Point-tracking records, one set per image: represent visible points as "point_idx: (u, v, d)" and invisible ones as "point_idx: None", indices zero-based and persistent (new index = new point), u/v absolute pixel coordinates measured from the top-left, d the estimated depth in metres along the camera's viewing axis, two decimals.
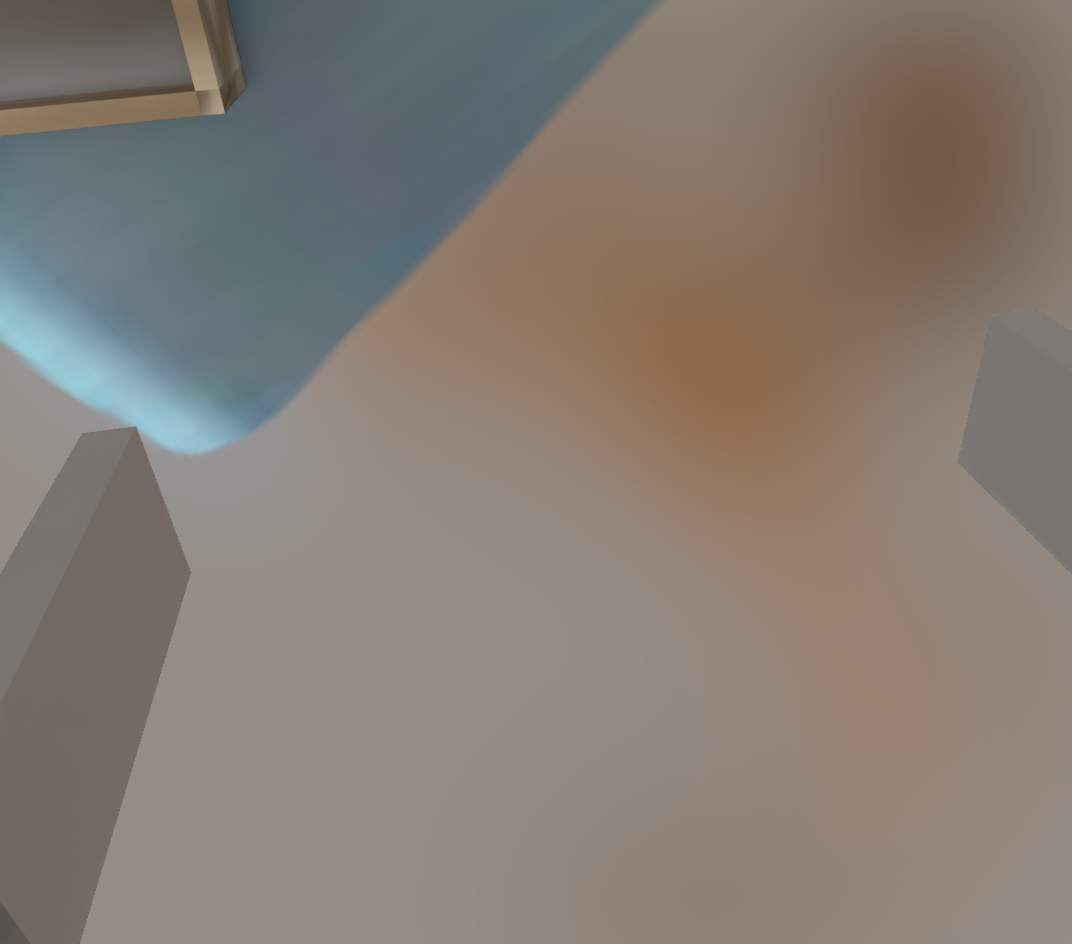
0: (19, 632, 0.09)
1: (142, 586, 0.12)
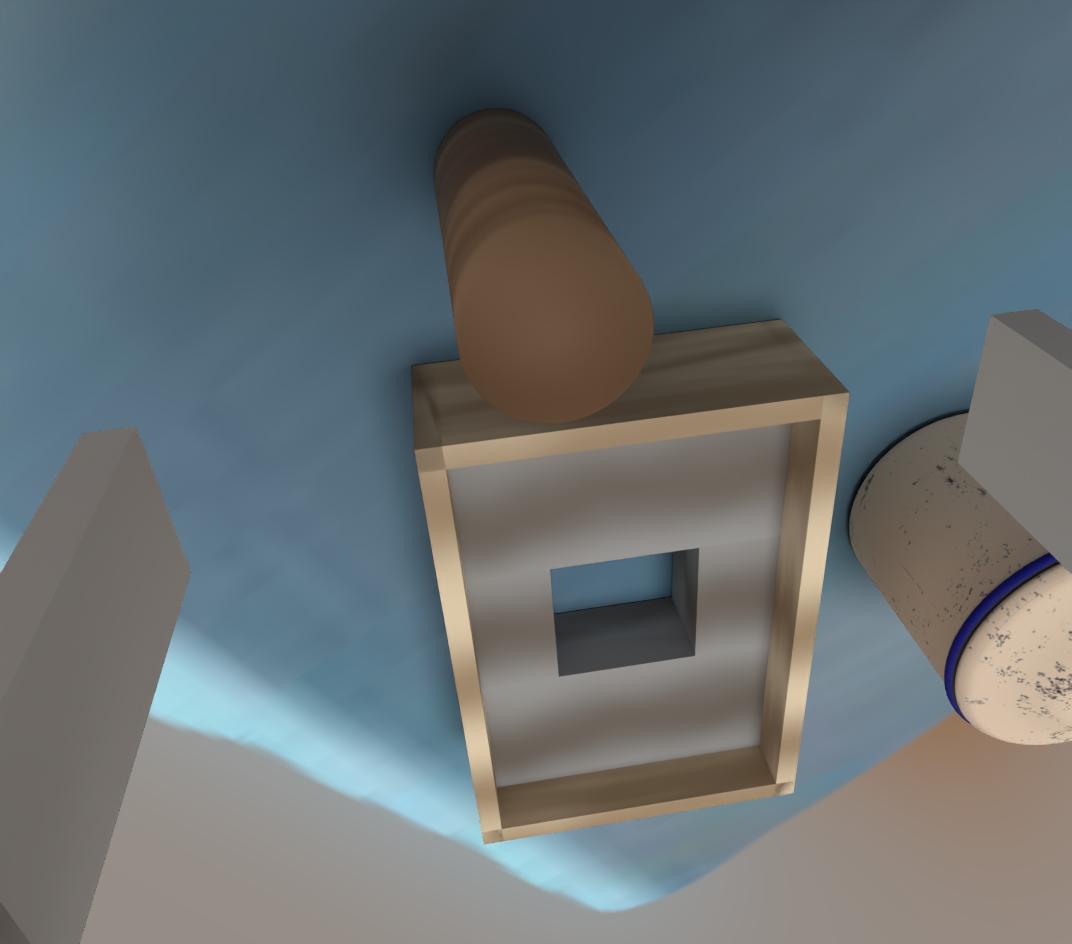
0: (19, 632, 0.09)
1: (142, 586, 0.12)
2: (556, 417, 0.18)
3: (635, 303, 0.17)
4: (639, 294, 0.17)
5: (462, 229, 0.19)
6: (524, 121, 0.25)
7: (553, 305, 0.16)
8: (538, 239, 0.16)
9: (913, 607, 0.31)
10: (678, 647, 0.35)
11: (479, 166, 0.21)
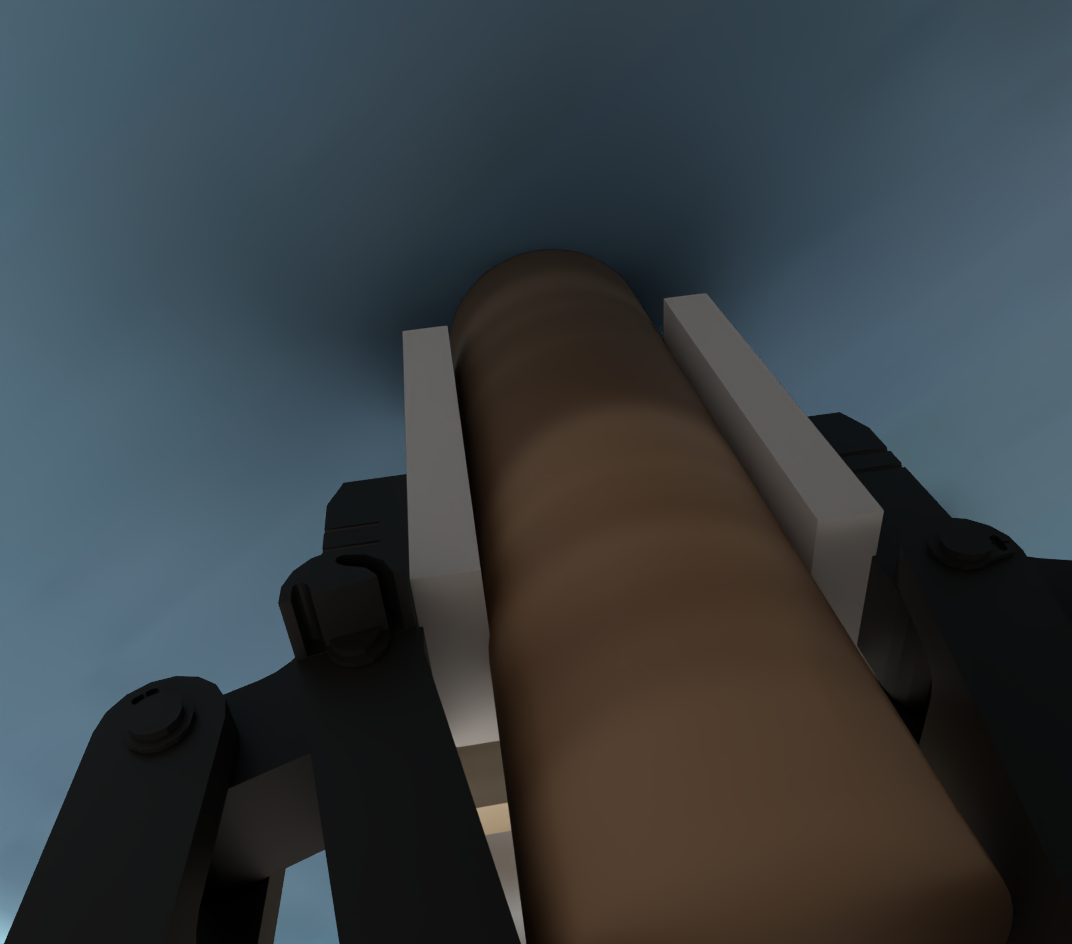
0: (451, 459, 0.11)
1: None
2: None
3: (976, 915, 0.07)
4: (990, 900, 0.07)
5: (526, 613, 0.09)
6: (601, 278, 0.15)
7: (781, 940, 0.07)
8: (759, 823, 0.06)
9: None
10: None
11: (544, 417, 0.11)
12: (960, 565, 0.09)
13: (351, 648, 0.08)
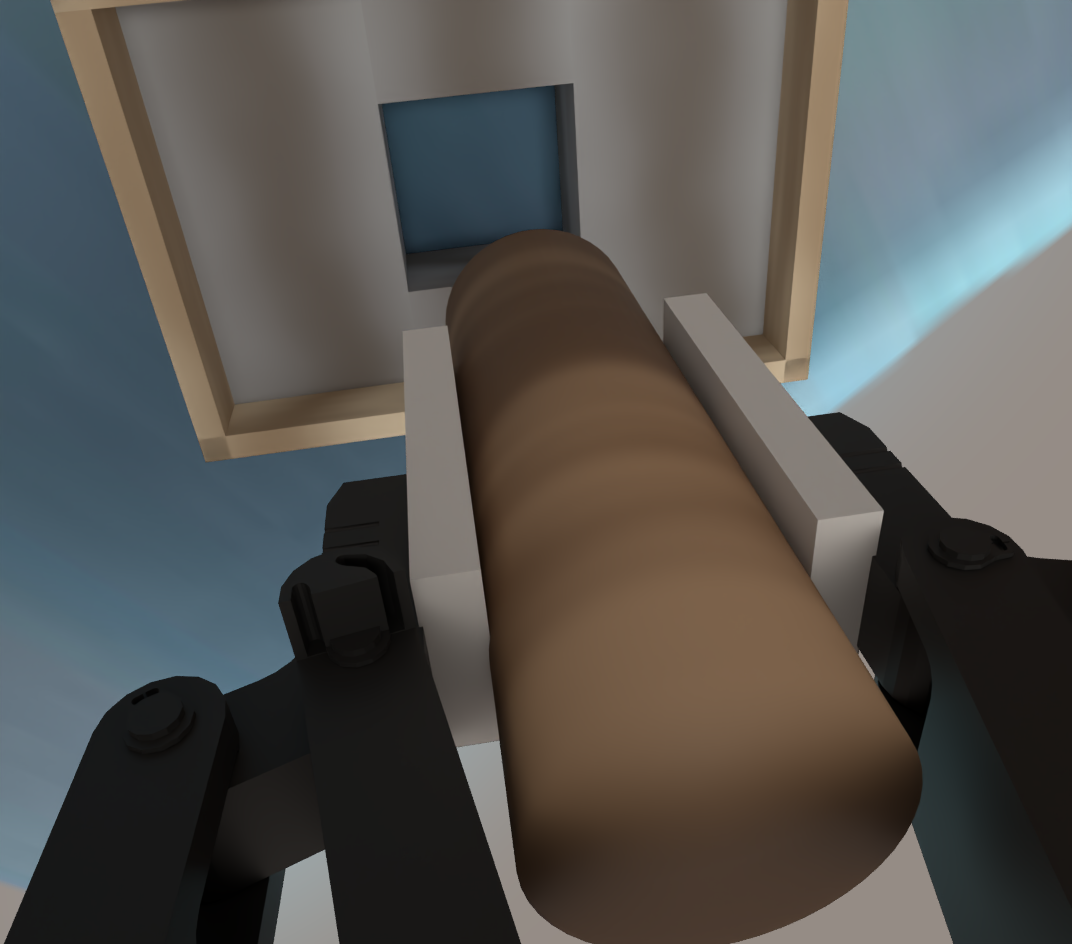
0: (451, 459, 0.11)
1: None
2: (704, 941, 0.09)
3: (890, 773, 0.08)
4: (901, 760, 0.08)
5: (511, 536, 0.10)
6: (586, 255, 0.16)
7: (723, 791, 0.08)
8: (700, 681, 0.07)
9: None
10: (570, 98, 0.25)
11: (530, 373, 0.12)
12: (960, 565, 0.09)
13: (351, 648, 0.08)
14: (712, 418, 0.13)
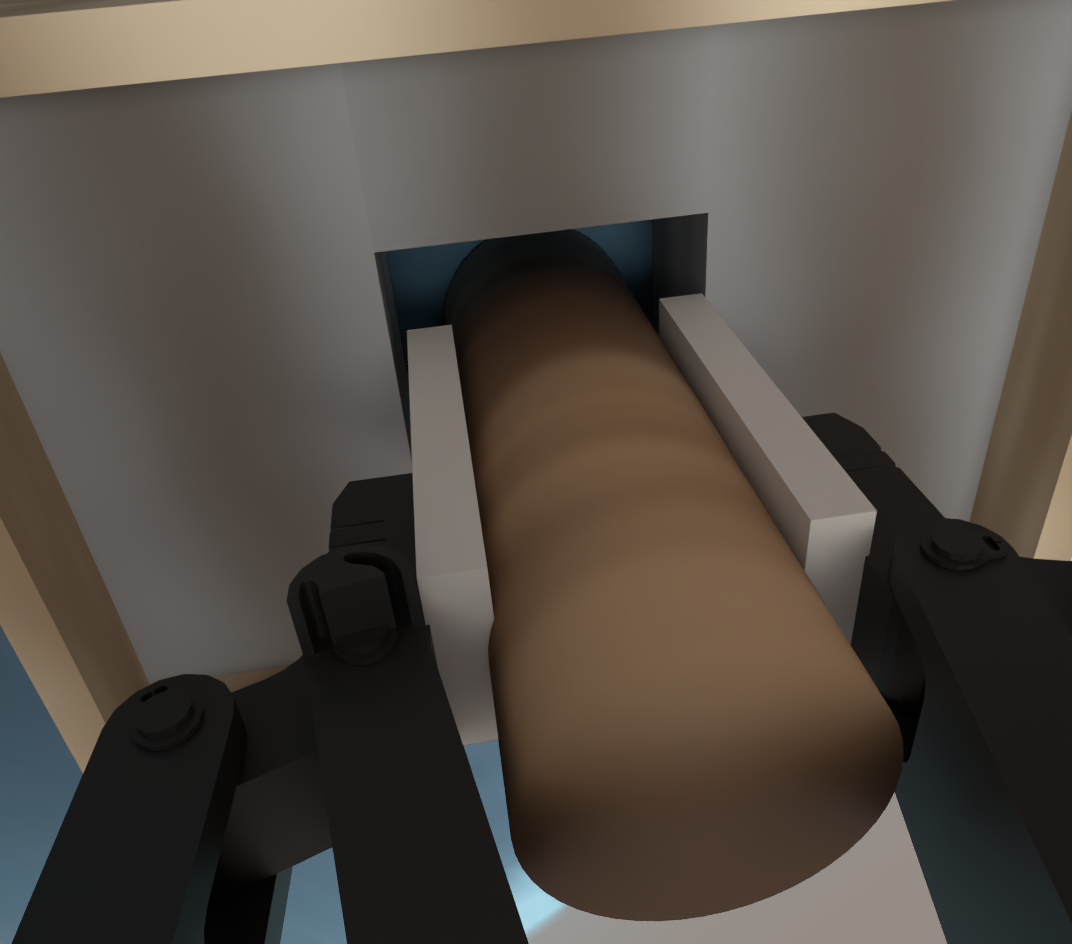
0: (456, 457, 0.11)
1: None
2: (694, 910, 0.09)
3: (872, 744, 0.08)
4: (882, 730, 0.08)
5: (507, 519, 0.10)
6: (583, 249, 0.16)
7: (710, 759, 0.08)
8: (687, 653, 0.07)
9: None
10: (696, 232, 0.15)
11: (527, 363, 0.13)
12: (953, 565, 0.09)
13: (358, 646, 0.08)
14: None
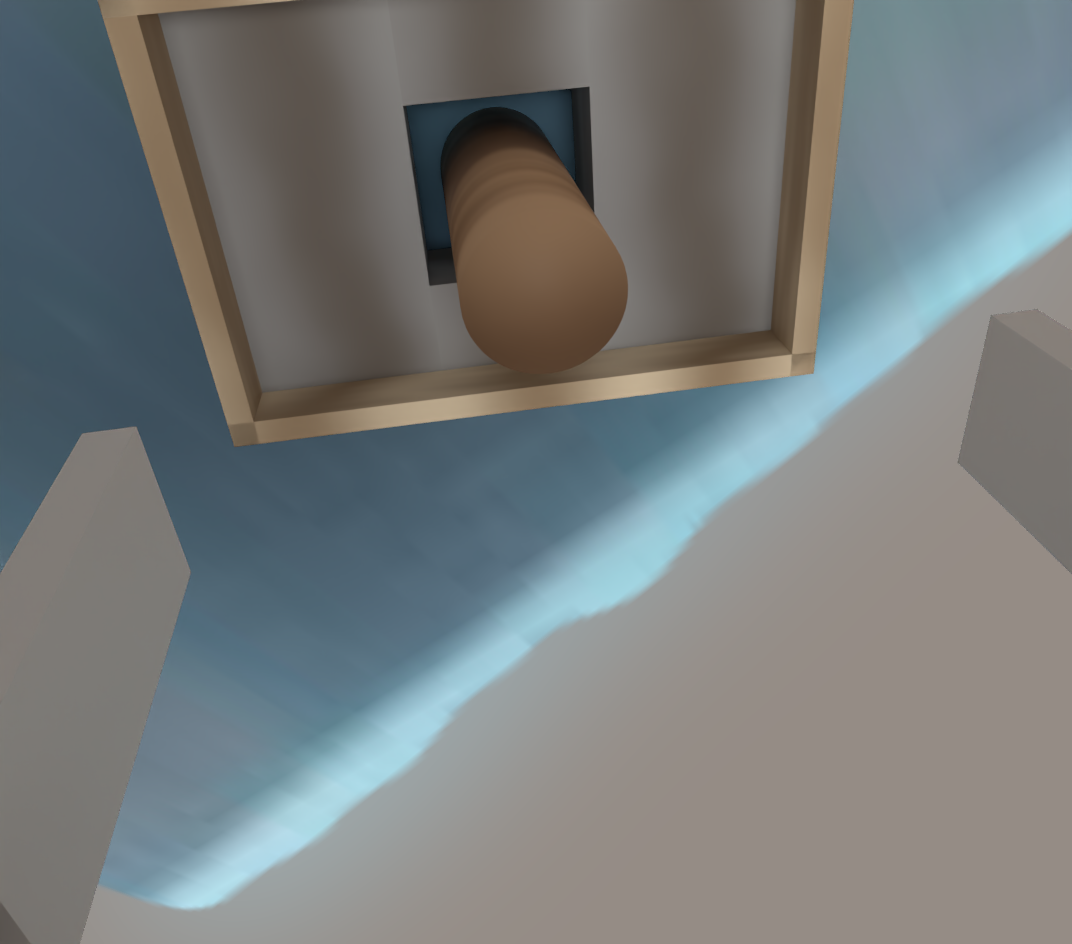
0: (20, 631, 0.09)
1: (142, 586, 0.12)
2: (545, 368, 0.21)
3: (611, 268, 0.19)
4: (615, 260, 0.19)
5: (464, 209, 0.22)
6: (521, 118, 0.28)
7: (541, 268, 0.19)
8: (528, 212, 0.19)
9: None
10: (586, 101, 0.26)
11: (480, 156, 0.24)
12: None
13: None
14: None
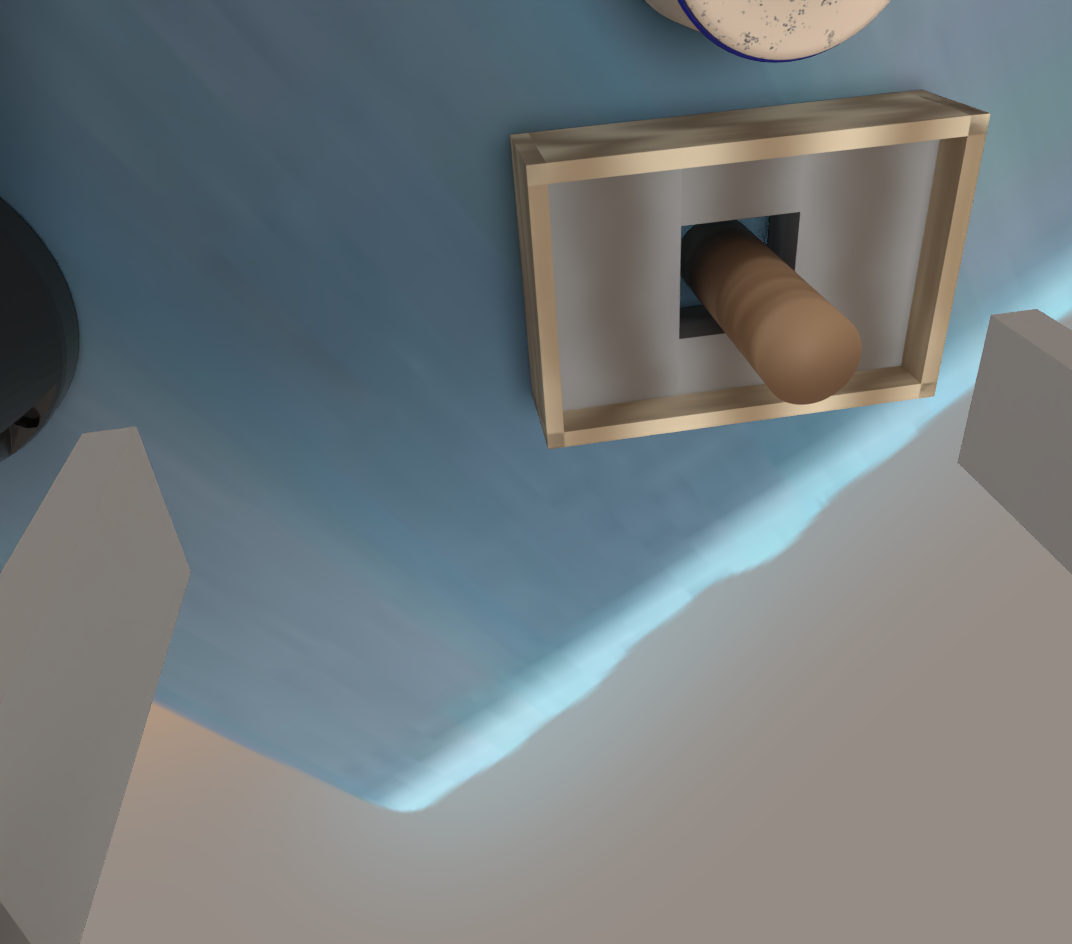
0: (19, 632, 0.09)
1: (142, 586, 0.12)
2: (806, 401, 0.34)
3: (853, 343, 0.33)
4: (856, 338, 0.33)
5: (747, 301, 0.35)
6: (741, 225, 0.41)
7: (814, 344, 0.33)
8: (810, 312, 0.32)
9: None
10: (794, 219, 0.40)
11: (739, 262, 0.37)
12: None
13: None
14: None
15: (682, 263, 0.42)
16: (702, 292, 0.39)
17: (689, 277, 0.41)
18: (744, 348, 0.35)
